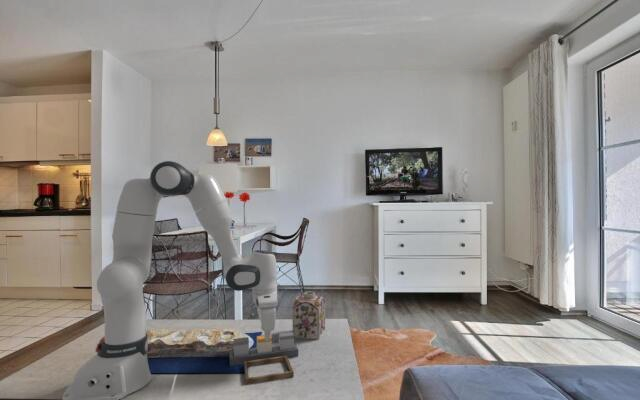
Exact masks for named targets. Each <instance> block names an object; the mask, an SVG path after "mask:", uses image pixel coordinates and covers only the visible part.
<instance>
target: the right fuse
mask: <svg viewBox="0 0 640 400" xmlns="http://www.w3.org/2000/svg"><path fill="white" fill-rule="evenodd" d="M294 343H295V337H294V334H293V331H287V332H282V333H278V345H279V350H288V349H294Z"/></svg>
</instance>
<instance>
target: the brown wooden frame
mask: <svg viewBox="0 0 640 400" xmlns="http://www.w3.org/2000/svg"><path fill="white" fill-rule="evenodd" d="M283 362H285V363H284V364H285V365H286V368H287V371H284V372H276V373H270V374H263V375H260V376H259V375H258V376H257V375H256V376H251V377H250V376H249V371H248V370H249V369H248V367H256V366H264V365H270V364H276V363H283ZM243 370H244V375H245V384H246V385H253V384H259V383H265V382H272V381H277V380H283V379H289V378H294V377H295V375H294V373H295V372H294V370H293V367H292V365H291V362H290V361H289V358H287V356H280V357H273V358H266V359H259V360H252V361H245V362H244V364H243Z"/></svg>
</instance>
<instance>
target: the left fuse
mask: <svg viewBox="0 0 640 400" xmlns="http://www.w3.org/2000/svg"><path fill="white" fill-rule="evenodd" d="M249 347H250V340H249V337H240V338H233V351H234V357H235V356H243V355H249V349H250V348H249Z"/></svg>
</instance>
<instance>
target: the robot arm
mask: <svg viewBox="0 0 640 400" xmlns="http://www.w3.org/2000/svg"><path fill="white" fill-rule="evenodd" d="M178 196H184V197H186V198H187V199H188V200H189V202H190V204H191V207H192V209H193V211H194V214H195V217H196V218H197V220H198V222H199V223H200V225H201V226H202V228H203V229H204V230H205V232H206V233H207V234H209V235H210V237H211V238H212V240H214V241H213V242H215V245H216V247H217V249H218V250H217V251H218V252H219V255H220V257H221V260H222V261H221V262H222V276H223V278H224V280H225V282H226V284H227V286H228V288H229V289H230V290H233V291H237V292H238V291H239V292H240V291H245V290H246V291H247V290H249V289H252V290H251V291H252V293H251V294H252V296H251V297H252V303H254V304H255V306H256V308H257V315H258V317H259V321H260V326H261V330H262V331H263V332H264V335H265V340H266V341H268V340H270V335H272V334H271V333H272V332H273V331H274V330H275V327H276V317H277V316H276V315H277V314H276V313H277V308H276V307H277V306H278V285H277V276H278V272H277V271H278V270H277V269H278V268H277V267H278V266H277V259H276V256H275V254H274V253H273V252H271V251H269V250H264V249H256V250H254V251H252V252H251V254H249V255H247V256H246V257H243V256H242V255H241V254H240V252H239V250H238V247H237V246H236V242H235V240H234V237H233V235H232V228H231V226H232V219H233V218H232V213H231V208H230V205H229V202H228V201H227V197H226V196H225V193H224V191H223V190H222V188H221V186H220V184H219V182H218V181H217V179H216V178H215V176H214V175H212V174H209V173H200V174H196V175H195V174H193V173H192V172H190V171H189V170H188V169H187V168H186V167H184V166H183V165H182V164H180V163H178V162H176V161H173V160H172V161H171V160H165V161H162V162H159V163H158V164H156V165H155V166H154V167H153V168H152V170H151V171H150V175H149V178H134V179H133V178H132V179H130V180H128V181H126V182H125V184H124V185H123V188H122V190H121V193H120V196H119V198H118V203H117V207H116V212H115V216H114V217H115V218H114V223H113V228H112V229H113V230H112V234H111V239H112V246H113V250H112V251H113V255H112V262H111V263H109V264H108V265H107V264H106V266H105V267H104V268H103V269H102V270H101V272H100V274H99V276H98V278H97V282H96V289H97V291H98V293H99V295H100V299H101V304H102V309H103V314H104V336H103V337H101V339H99V342H98V343H97V345H96V347H95V353H96V354H95V355H93V356H92V357H91V358H90V359H89V360H87V361H86V362H85V363H83V364H82V365H81V367H79V369H78V370H77V371H76V373H75V375H74V378H73V381H72V383H71V384H69V385H68V387H67V388H66V389H65V390H64V392H63V394H62V396H61V400H119V399H120V400H121V398H122V399H123V398H125V397H126V396H128V395H130V394H131V393H135V392H136V391H139V390H141V389H142V388H144V387H145V386H147V385H148V384H149V383H150V382H151V380H152V373H151V370H150V367H149V362H148V351H149V338H148V333H147V307H146V305H145V300H144V292H143V291H144V289H143V287H144V283H146V281H147V279H148V278H149V276H150V273H151V264H152V253H153V251H152V250H153V236H154V231H155V225H156V219H157V213H158V212H157V211H158V207H159V203H160V201H161V200H162V199H163V198H171V197H178Z"/></svg>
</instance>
